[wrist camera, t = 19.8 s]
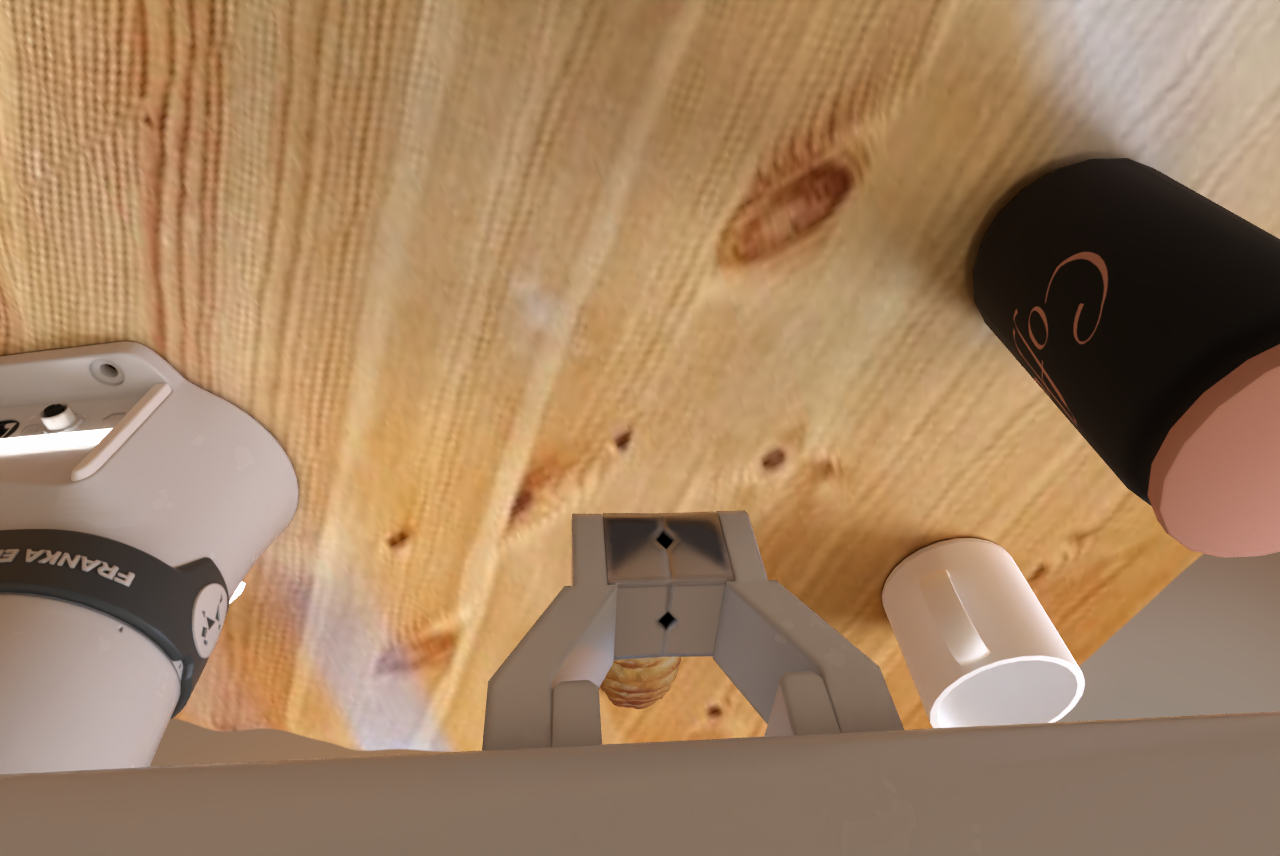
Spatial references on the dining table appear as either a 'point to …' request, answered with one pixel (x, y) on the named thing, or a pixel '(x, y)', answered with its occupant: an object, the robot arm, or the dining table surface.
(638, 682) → the pastry
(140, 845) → the robot arm
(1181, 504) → the coffee jar
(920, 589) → the mug
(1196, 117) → the dining table surface
